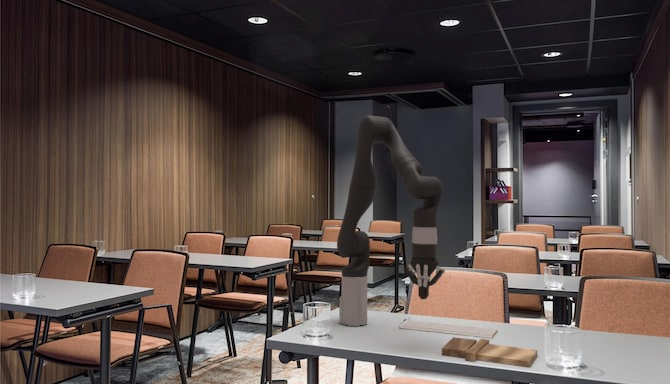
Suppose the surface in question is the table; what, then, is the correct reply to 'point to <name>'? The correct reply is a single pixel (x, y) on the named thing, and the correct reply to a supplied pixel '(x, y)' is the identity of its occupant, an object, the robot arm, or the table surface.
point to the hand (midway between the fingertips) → (423, 298)
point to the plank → (457, 347)
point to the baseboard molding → (449, 329)
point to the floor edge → (500, 354)
